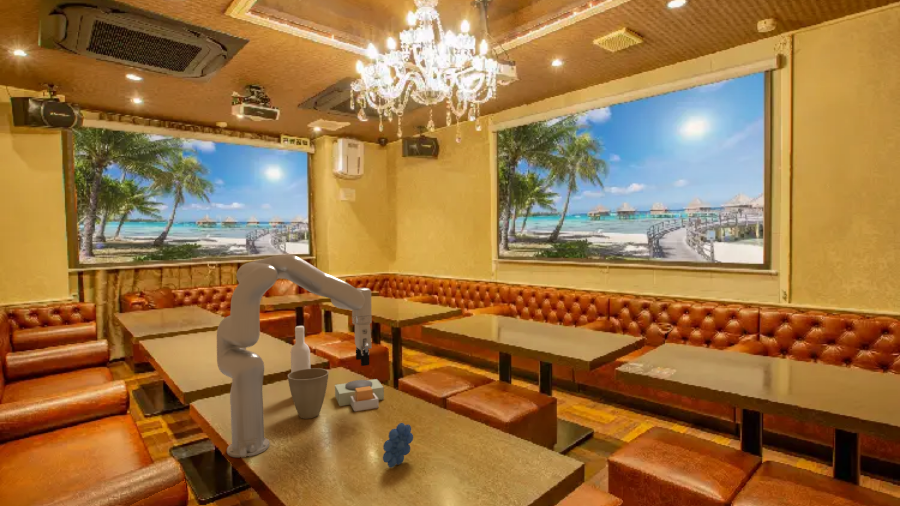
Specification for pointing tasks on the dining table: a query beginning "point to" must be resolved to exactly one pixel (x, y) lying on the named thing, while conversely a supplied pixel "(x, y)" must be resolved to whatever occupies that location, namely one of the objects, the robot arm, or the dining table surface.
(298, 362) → the bottle
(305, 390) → the plant pot
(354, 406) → the green box with tray
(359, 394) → the orange block
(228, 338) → the robot arm
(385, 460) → the grapes
